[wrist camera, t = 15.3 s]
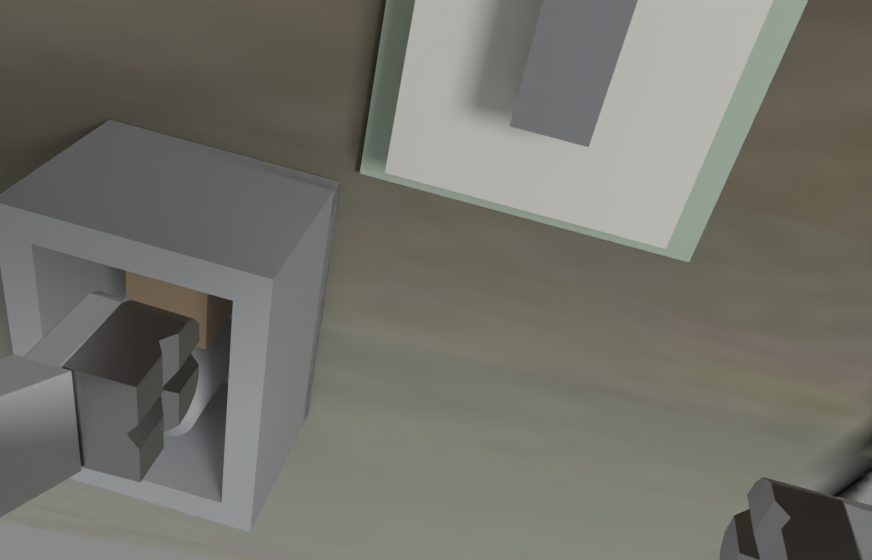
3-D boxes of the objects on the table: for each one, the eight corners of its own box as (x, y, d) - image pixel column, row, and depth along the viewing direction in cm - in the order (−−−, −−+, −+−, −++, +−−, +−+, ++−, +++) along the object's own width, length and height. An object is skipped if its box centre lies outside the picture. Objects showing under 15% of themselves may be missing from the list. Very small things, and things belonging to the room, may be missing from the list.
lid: (476, -281, 27) (448, -292, 23) (838, -195, 26) (882, -188, 22) (397, 151, 36) (366, 203, 32) (663, 222, 36) (669, 286, 31)
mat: (443, -354, 27) (441, -356, 26) (914, -245, 26) (919, -245, 25) (362, 169, 38) (359, 173, 37) (688, 257, 37) (689, 262, 37)
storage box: (109, 119, 39) (-10, 200, 32) (340, 181, 39) (273, 279, 31) (121, 359, 48) (30, 466, 41) (308, 413, 48) (250, 532, 40)
